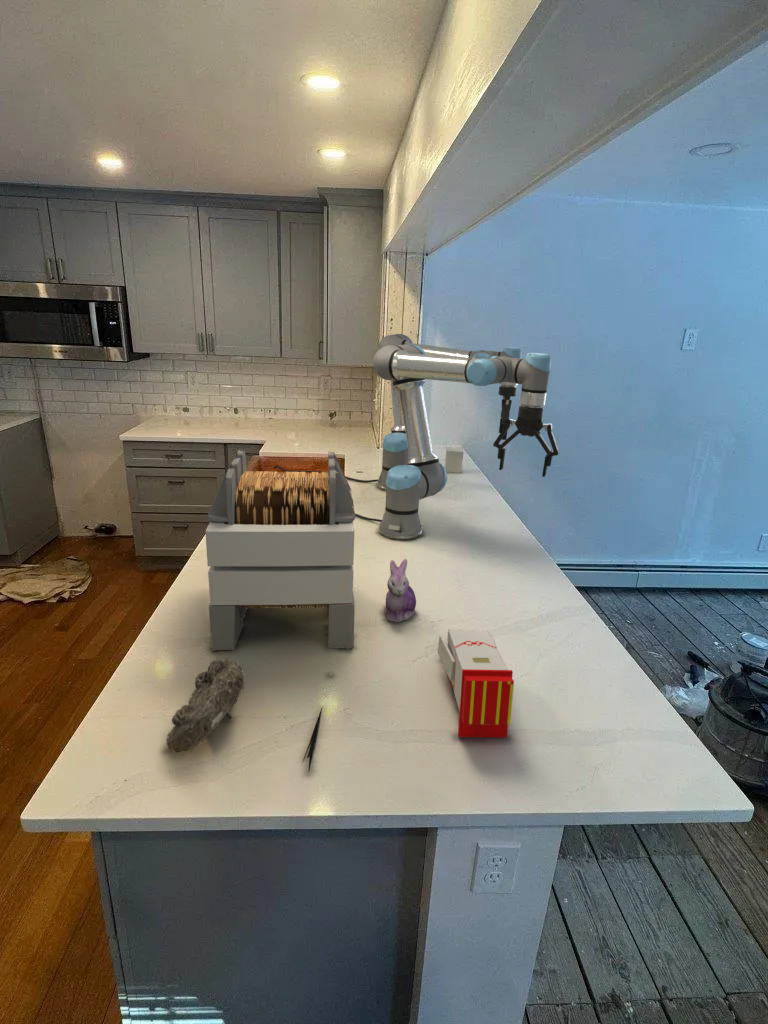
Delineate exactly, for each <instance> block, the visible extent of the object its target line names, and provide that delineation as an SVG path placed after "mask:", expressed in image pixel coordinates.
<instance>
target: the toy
mask: <svg viewBox="0 0 768 1024" xmlns="http://www.w3.org/2000/svg"><path fill="white" fill-rule="evenodd" d="M446 640H447V643H446V641H445V639H444V636H443V635H442V634H439V637H438V646H437V656H438V657H439V659H440V661H441V663H442V666H443V668H444V670H445V672H446V674H447V677H448V679H449V681H450V684H451V687H452V690H453V693H454V697H455V701H456V705H457V708H458V711H459V714H458V715H459V716H458V730H457V731H458V732H457V737H458V738H508V731H509V726H510V725H511V717H512V707H513V697H514V696H513V695H514V684H515V680H514V679H513V673H514V671H513V670H512V669H508V667H507V665H506V662H505V661H504V659H503V658H502V655H501V653H500V651H499V649H498V647H497V643H496V639H495V637H494V635H493V634H491V632H490V631H489V629H467V628H466V629H465V628H463V629H461V628H460V629H459V628H448V630H447V639H446Z"/></svg>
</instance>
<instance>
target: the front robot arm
mask: <svg viewBox="0 0 768 1024" xmlns="http://www.w3.org/2000/svg"><path fill="white" fill-rule="evenodd" d="M551 365H552V356H551V355H550V354H547V353H541V352H528V353H527V354H526V355H525V357H524V358H521V359H518V358H511V357H504V356H492V357H491V358H489V359H485V358H468V357H453V356H438V355H427V354H426V352H425V351H424V350H423V349H422V348H421V347H419V346H417V345H411V344H406V345H388V346H384V347H382V348H381V349H379V350H378V349H377V352H376V353H375V355H374V357H373V361H372V366H373V369H374V372H375V374H376V375H377V376H378V377H379V378H380V379H382V380H385V381H391V380H392V382H393V387H394V388H396V389H397V390H398V391H399V397H400V403H401V409H402V414H403V420H404V426H405V432H406V438H407V444H408V450H409V455H410V458H409V460H408V461H407V465H399V466H395V467H393V468H391V469H390V470H389V471H388V473H387V479H386V491H385V504H384V505H385V507H384V508H385V509H384V513H383V515H382V519H381V518H380V519H379V518H374V517H367V516H364V515H361V514H359V513H358V514H357V513H355V517H357V518H360V519H362V520H366V521H371V522H378V523H379V526H378V533H379V534H380V535H381V536H382V537H385V538H387V539H389V540H395V541H410V540H415V539H418V538H420V537H421V536H422V535H423V525H422V524H421V518H420V515H419V507H420V506H419V505H420V500H423V499H426V498H429V497H431V496H435V495H437V494H438V493H440V492H441V491H442V490H443V489H444V488H445V487H446V485H447V482H448V472H446V469H445V466H443V464H442V463H440V461H439V457H438V455H436V454H435V453H434V450H433V444H432V438H431V437H432V436H431V431H430V425H429V420H428V414H427V407H426V401H425V395H424V389H423V388H424V387H423V386H424V384H425V383H426V381H427V380H430V381H442V382H452V383H463V384H464V383H465V384H472V385H474V386H476V387H477V386H478V387H487V386H489V385H495V384H497V385H498V384H499V383H504V382H508V383H517V384H518V385H521V390H520V398H519V404H520V405H519V406H518V413H517V418H516V419H512V418H511V417H509V419H508V420H507V422H506V426H505V427H504V429H503V430H502V432H501V433H499V435H498V436H497V438H496V439H495V440H494V442H493V444H492V447H494V448H497V459H498V460H500V461H499V468H498V471H502V470H503V469H504V465H505V457H506V448H504V447H506V446H507V445H508V444H509V443H510V442H511V441H512V440H513V439H515V438H516V437H517V436H518V435H519V434H520V436H523V437H524V436H527V437H531V438H533V437H535V438H536V439H537V441H538V443H539V444H540V446H541V447H542V449H543V450H544V452H545V456H544V462H543V467H542V475H541V476H542V478H545V477H546V475H547V469H548V467H551V465H552V461H553V457H555V456H558V455H559V454H560V449H559V446H558V443H557V440H556V437H555V434H554V431H553V423H552V422H550V423H544V422H543V420H544V419H543V418H544V413H545V408H544V406H545V405H546V399H547V392H548V386H549V380H550V374H551V367H552V366H551ZM514 425H515V427H516V430H515V432H513V433H512V434H511V435H510V436H508V437H507V438H506V440H503V442H502V443H501V441H502V440H501V439H502V438H503V437H504V435H505V434H506V432H507V433H508V431H509V430H510V428H511V427H513V426H514ZM542 429H544V431H545V432H547V436H548V440H549V443H550V446H551V448H552V449H551V448H550V446H549V444H548V443H547V441H546V439H545V437H544V436H543V434H542V433H541V430H542Z"/></svg>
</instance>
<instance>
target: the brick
mask: <svg viewBox="0 0 768 1024" xmlns="http://www.w3.org/2000/svg"><path fill="white" fill-rule="evenodd" d="M463 459H464V449H463V447H457V446H446V448H445V459H444V460H445V461H444V467H445V469H446V472H447V473H453V474H454V473H455V474H462V470H463Z"/></svg>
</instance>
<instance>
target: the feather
mask: <svg viewBox="0 0 768 1024" xmlns="http://www.w3.org/2000/svg"><path fill="white" fill-rule="evenodd" d="M329 675H330V676H331V675H332V674H331V673H330V674H329ZM322 710H323V707H321V708H320V710H319V713H318V716H317V719H316V723H315V725H314V728H313V731H312V733H311V737H310V739H309V742H308V745H307V748H306V751H305V754H304V757H303V760H302V763H301V767H302V765H303V763H304V761H305V758H308V759H309V760H308V762H307V763H308V764H307V766H308V771H310V770H311V766H312V765H311V764H312V760H313V757H315V756H314V755H315V751H316V749H315V746H317V739H318V733H319V729H320V722H321V717H322V712H323V711H322ZM313 754H314V755H313ZM306 755H307V757H306Z"/></svg>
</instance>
